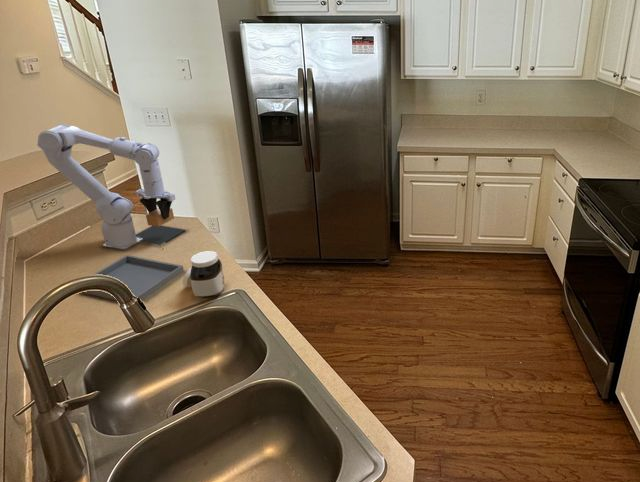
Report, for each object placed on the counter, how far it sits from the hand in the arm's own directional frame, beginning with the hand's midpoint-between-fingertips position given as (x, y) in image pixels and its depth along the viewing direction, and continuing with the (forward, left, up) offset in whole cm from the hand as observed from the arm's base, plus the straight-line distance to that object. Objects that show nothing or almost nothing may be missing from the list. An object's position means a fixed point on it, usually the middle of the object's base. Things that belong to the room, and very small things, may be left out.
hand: (160, 217), depth 149 cm
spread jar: (+33, -21, -10) cm, 40 cm away
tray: (+10, -24, -9) cm, 27 cm away
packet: (0, 0, -2) cm, 2 cm away
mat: (-6, +2, -9) cm, 11 cm away
